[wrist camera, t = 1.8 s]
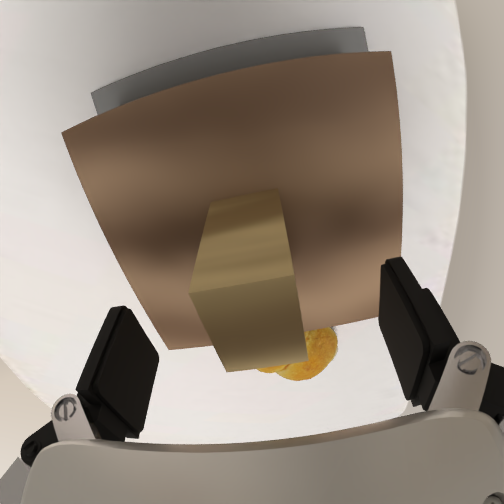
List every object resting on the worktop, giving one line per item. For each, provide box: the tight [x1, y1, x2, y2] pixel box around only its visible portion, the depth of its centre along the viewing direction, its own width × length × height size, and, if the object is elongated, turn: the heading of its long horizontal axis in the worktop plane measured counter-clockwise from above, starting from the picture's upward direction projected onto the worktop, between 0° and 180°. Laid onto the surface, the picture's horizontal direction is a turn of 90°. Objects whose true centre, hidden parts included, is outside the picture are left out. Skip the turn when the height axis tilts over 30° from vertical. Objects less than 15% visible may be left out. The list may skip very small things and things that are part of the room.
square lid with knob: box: [62, 51, 403, 372], centre depth 15 cm, size 15×15×13 cm
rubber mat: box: [91, 27, 368, 115], centre depth 21 cm, size 18×18×1 cm
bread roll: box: [257, 327, 338, 381], centre depth 29 cm, size 8×9×4 cm
